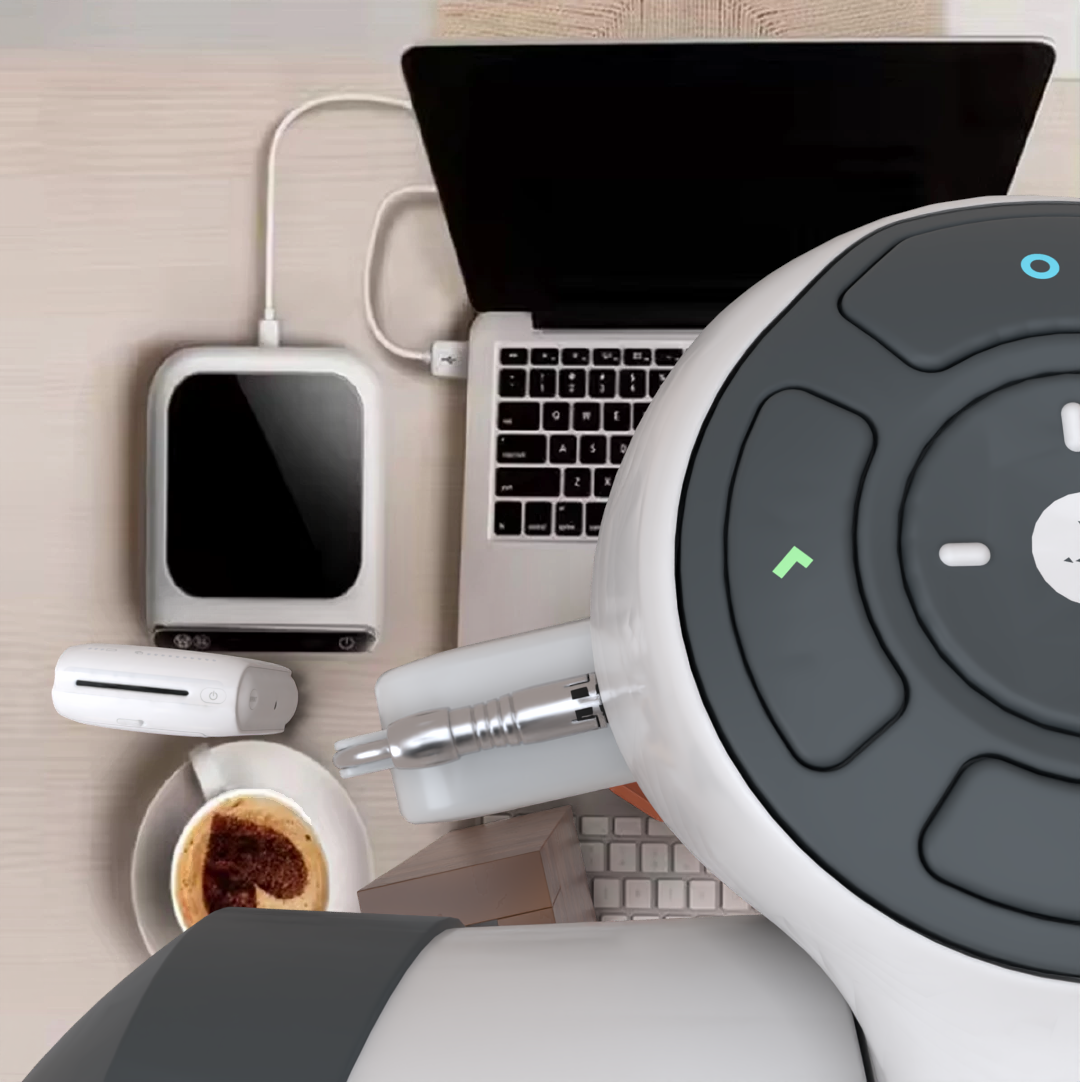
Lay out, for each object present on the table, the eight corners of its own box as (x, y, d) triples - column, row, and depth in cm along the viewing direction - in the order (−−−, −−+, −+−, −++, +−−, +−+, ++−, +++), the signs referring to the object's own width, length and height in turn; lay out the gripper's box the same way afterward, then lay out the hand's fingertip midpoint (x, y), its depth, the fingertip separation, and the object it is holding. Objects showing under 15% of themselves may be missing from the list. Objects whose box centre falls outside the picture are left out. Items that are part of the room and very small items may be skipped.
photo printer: (305, 663, 79) (245, 653, 67) (296, 739, 79) (234, 744, 67) (129, 646, 80) (38, 633, 68) (119, 721, 80) (26, 722, 67)
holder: (599, 931, 76) (582, 1042, 51) (474, 958, 77) (395, 1083, 51) (570, 804, 77) (539, 850, 52) (448, 831, 78) (356, 891, 52)
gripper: (344, 925, 27) (440, 855, 41) (1391, 690, 26) (1132, 700, 40) (281, 609, 28) (396, 645, 42) (1293, 374, 27) (1072, 489, 41)
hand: (762, 670), depth 41 cm, fingers closed
